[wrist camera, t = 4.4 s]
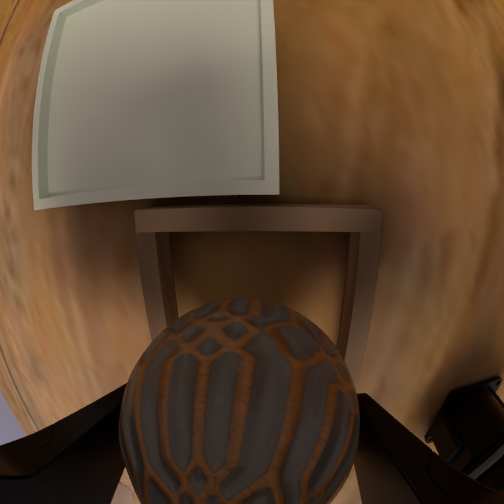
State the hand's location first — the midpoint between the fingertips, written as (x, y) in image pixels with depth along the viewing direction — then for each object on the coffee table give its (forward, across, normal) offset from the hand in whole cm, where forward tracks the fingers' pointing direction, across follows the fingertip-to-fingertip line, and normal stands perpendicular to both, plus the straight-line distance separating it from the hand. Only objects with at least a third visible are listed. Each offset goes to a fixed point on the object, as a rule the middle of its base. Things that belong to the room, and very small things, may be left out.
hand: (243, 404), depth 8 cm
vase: (+3, 0, 0) cm, 3 cm away
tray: (+7, +6, -13) cm, 16 cm away
